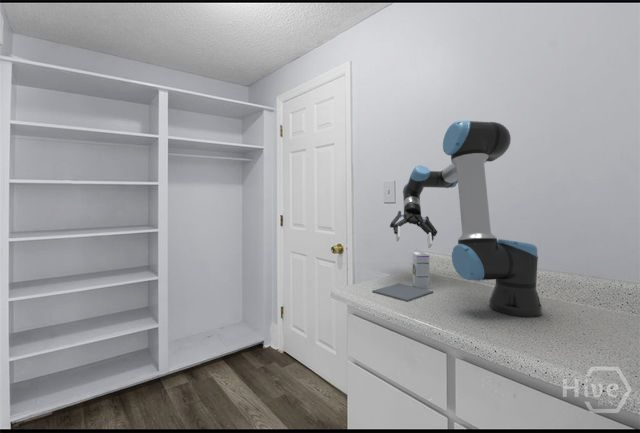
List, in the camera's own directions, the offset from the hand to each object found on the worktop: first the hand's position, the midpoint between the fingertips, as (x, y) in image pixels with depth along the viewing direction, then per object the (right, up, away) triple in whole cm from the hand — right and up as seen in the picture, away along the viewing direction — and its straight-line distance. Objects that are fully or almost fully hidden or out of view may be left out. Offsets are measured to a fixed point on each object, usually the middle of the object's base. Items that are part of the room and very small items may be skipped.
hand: (414, 242), depth 134 cm
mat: (-7, -19, -7) cm, 21 cm away
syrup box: (+3, -19, +2) cm, 20 cm away
